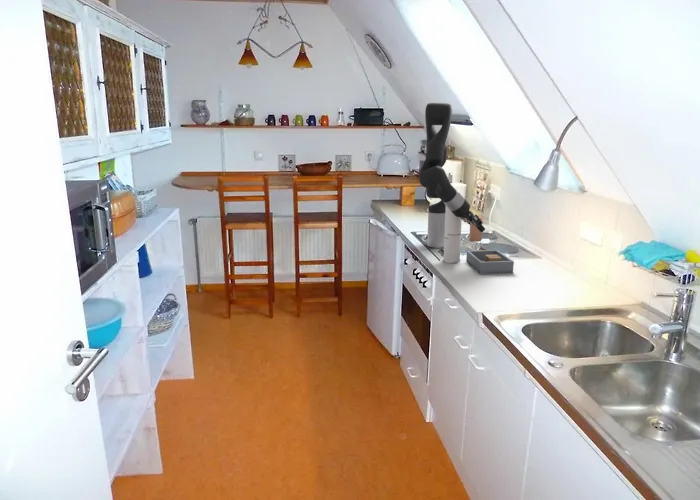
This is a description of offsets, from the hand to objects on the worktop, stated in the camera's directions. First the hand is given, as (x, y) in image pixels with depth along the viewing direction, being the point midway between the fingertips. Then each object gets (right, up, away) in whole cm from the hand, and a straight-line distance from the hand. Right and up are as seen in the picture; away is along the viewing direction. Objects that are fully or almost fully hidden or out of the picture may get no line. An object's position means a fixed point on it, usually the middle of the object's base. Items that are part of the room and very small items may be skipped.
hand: (479, 229), depth 210 cm
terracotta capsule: (-2, -5, +1) cm, 5 cm away
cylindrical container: (-9, -14, +12) cm, 21 cm away
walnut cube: (+5, -16, -2) cm, 17 cm away
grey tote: (+4, -16, +2) cm, 17 cm away
